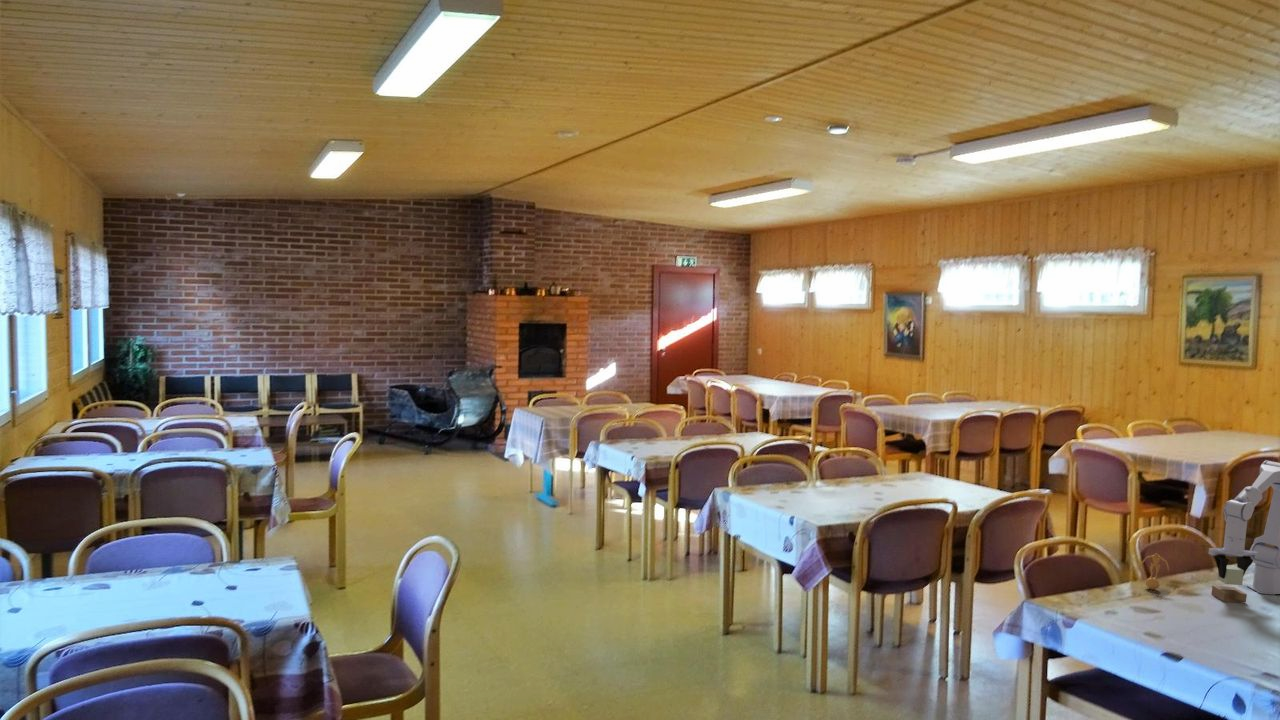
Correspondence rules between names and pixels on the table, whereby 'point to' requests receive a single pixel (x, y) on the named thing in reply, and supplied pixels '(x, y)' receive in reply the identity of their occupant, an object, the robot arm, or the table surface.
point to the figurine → (1152, 582)
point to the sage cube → (1232, 575)
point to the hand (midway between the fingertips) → (1230, 577)
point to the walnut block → (1228, 594)
